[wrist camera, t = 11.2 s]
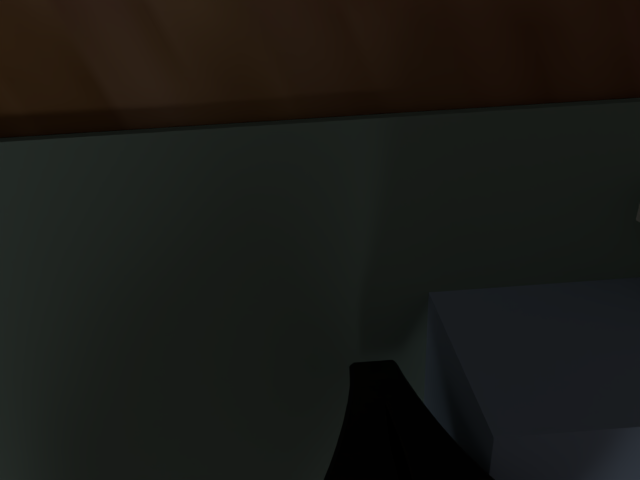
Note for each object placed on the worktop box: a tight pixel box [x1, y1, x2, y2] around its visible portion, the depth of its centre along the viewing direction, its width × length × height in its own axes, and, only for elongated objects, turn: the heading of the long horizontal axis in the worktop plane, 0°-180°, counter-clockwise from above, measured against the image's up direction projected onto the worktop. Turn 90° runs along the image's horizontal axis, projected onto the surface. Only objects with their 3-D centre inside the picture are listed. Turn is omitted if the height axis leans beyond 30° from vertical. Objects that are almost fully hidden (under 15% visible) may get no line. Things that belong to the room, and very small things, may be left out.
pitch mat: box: [0, 98, 640, 480], centre depth 15 cm, size 13×26×1 cm, turn 93°
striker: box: [424, 277, 640, 480], centre depth 13 cm, size 4×6×5 cm, turn 93°
